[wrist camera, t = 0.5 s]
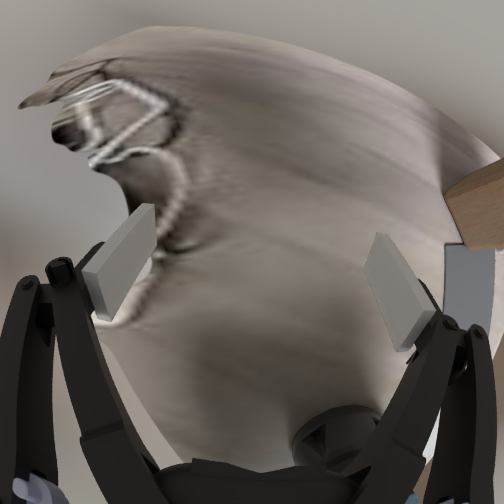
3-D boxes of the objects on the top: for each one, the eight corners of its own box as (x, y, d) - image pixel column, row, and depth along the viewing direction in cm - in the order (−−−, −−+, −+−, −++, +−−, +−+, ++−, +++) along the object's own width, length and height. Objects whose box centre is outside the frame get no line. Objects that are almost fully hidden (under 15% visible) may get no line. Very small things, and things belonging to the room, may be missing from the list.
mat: (483, 355, 32) (484, 356, 31) (434, 371, 32) (435, 372, 32) (493, 244, 32) (494, 244, 32) (444, 245, 33) (446, 245, 32)
